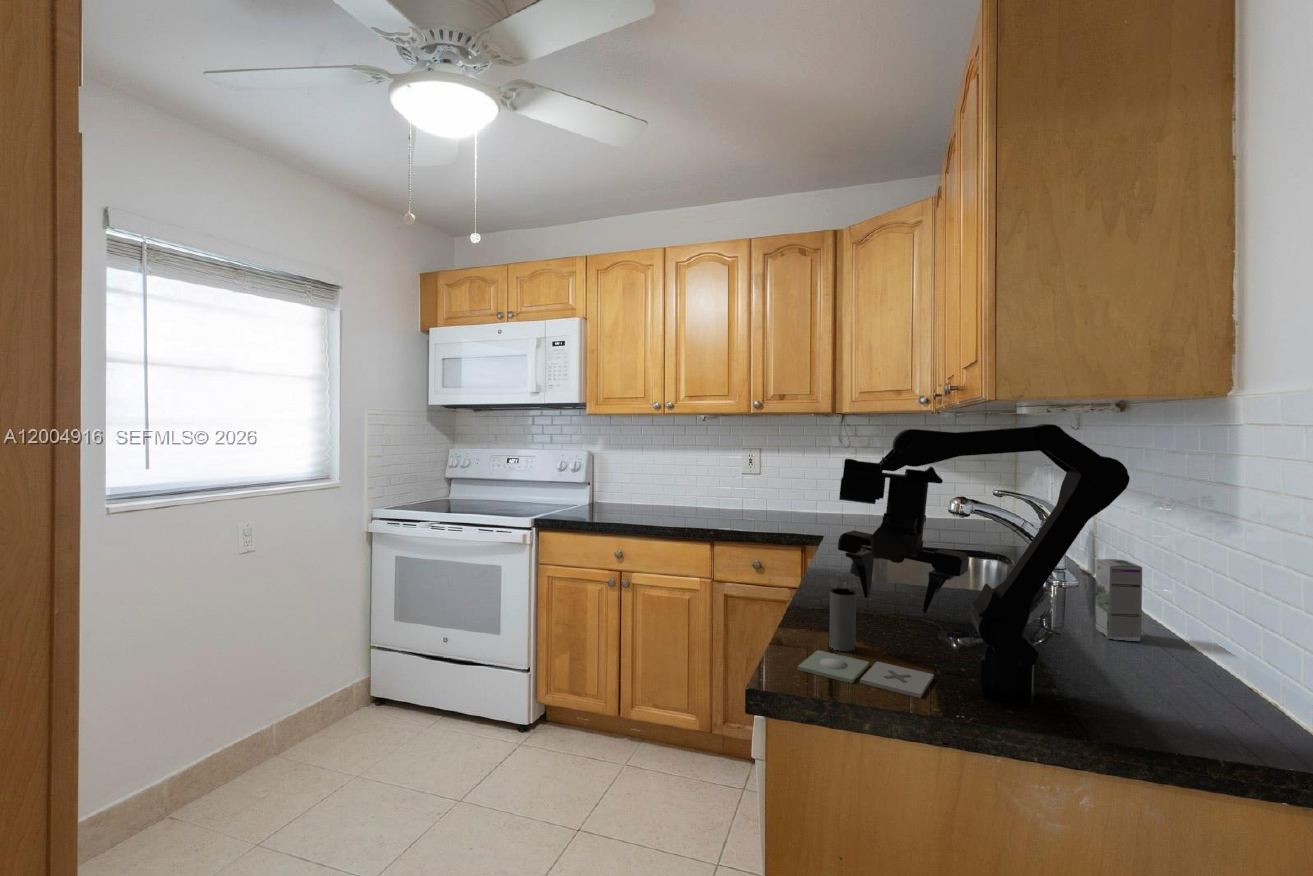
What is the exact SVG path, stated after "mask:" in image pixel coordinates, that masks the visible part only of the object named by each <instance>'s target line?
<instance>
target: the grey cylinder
mask: <svg viewBox="0 0 1313 876" xmlns="http://www.w3.org/2000/svg"><path fill="white" fill-rule="evenodd" d="M829 591H830V593H829V628H828V629H829V631H828V632H829V633H828V637H829V639H828V644H829V645H828V646H829V648H830V647H831V648H830V649H832V648H833V649H832V650H834V651H836V650H839V651H838V652H841V651H844V652H845V651H846V652H847V653H850V652H852V650H853V651H854V650H856V627H857V625H856V624H857V623H856V622H857V619H856V618H857V617H856V615H857V592H856V590H853V589H848V588H843V587H837V588H832V589H830V590H829ZM849 651H850V652H849ZM844 652H843V653H844ZM846 652H845V653H846Z"/></svg>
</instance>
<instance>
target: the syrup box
mask: <svg viewBox="0 0 1313 876" xmlns="http://www.w3.org/2000/svg"><path fill="white" fill-rule="evenodd" d="M1095 565H1096V566H1095V607H1094V608H1095V612H1094V613H1095V615H1094V622H1095V623H1094V629H1095V628H1096V629H1097V630H1099V631H1100V632H1103V633H1104V634H1105V635H1106V636H1108V637H1109V636H1110V637H1131V638H1132V637H1141V638H1142V613H1143V612H1142V609H1143V608H1142V605H1143V602H1142V601H1143V567H1142V566H1140V565H1138V564H1135V563H1133V562H1131V561H1128V560H1124V559H1115V558H1113V559H1112V558H1110V559H1109V558H1105V559H1104V558H1102V559H1097V558H1096V561H1095Z"/></svg>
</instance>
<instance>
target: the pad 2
mask: <svg viewBox="0 0 1313 876" xmlns="http://www.w3.org/2000/svg"><path fill="white" fill-rule="evenodd" d="M934 678H935V674H933V673H928V672H925V671H921V670H917V669H911V668H907V667H903V666H899V665H894V664H889V663H885V662H881V661H876V662H875V663H873V665H872V666H871V667H870V668H869V669H868V670H867V671H866V673H865V674H863V676H861V678H860V679H859V683H860V684H862V683H863V685H867V686H872V687H874V688H879V689H883V690H887V691H890V692H894V693H898V694H903V695H905V696H906V695H908V696H911V697H915V698H918V699H922V696H923V695H924V694H925V692H926V691H927V689H928V688H929V686H930V684H931V683H932V681H933V680H934Z"/></svg>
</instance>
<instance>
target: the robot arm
mask: <svg viewBox="0 0 1313 876" xmlns="http://www.w3.org/2000/svg"><path fill="white" fill-rule="evenodd" d="M1025 452H1041V453H1042V454H1043V455H1044V456H1046V457H1047V458H1048V459H1049V460H1050V461H1051V462H1053V464H1055V465H1056V466H1057V467H1058V468H1059V469H1061V470H1062V471H1064V472H1065V476H1064V477H1063V480H1062V482H1061V485H1060V490H1059V494H1058V499H1057V502H1056V505H1055V506H1054V508H1053V510H1051V513H1050V514H1049V515H1048V516H1047V518H1046V520H1045V521H1044V523H1043V524H1042V526H1041V527H1040V529H1039V530H1038V532H1036V535H1035V536H1034V537H1033V539H1032V540H1031V542H1030V543H1029V545H1027V548H1026V549H1025V551H1024V552H1023V553H1022V555H1021V556H1020V558H1019V560H1017V562H1016V564H1015V566H1014V567H1013V568H1012V569H1011V572H1010V573H1009V574H1008V576H1006V579H1005V580H1003V582H1002V583H1000V584H998V585H997V586H995V587H994V588H993V587H991V586H990V585H989V584H988V583H985V584H984V585H983V587H982V589H981V592H980V594H979V595H978V597H976V599H975V600H974V601H972V602H971V606H972V607H973V608H972V610H971V621H972V625H973V626H974V628H975V629H976V632H977V633H978V635H979V636H980V638H981V639H982V641H983V642H984V643H985V644H986V645H987V648H986V650H985V652H984V655H983V656H982V657H981V659H980V672H979V673H980V675H979V686H980V687H981V688H982V690H981V695H983V696H985V697H989V698H992V699H993V698H995V699H997V700H1003V701H1006V702H1007V701H1008V702H1009V703H1010V702H1011V703H1015V704H1020V705H1023V706H1027V707H1031V706H1032V705H1033V701H1034V697H1035V693H1036V688H1034V679H1035V678H1034V676H1035V675H1034V674H1035V673H1034V672H1035V665H1036V661H1037V660H1038V657H1039V655H1040V653H1039V652H1040V651H1038V650H1037V648H1036V646H1035V645H1034V644H1033V643H1032V641H1030V639H1029V638H1028V636H1027V635H1026V634H1025V633H1024V632H1025V630H1026V627H1027V626H1028V623H1029V620H1030V615H1031V611H1032V607H1033V602H1034V599H1035V598H1036V597H1037V595H1038V594H1039V592H1040V591H1041V589H1042V588H1043V586H1044V585H1045V584H1046V582H1047V581H1048V579H1049V578H1050V576H1051V575H1052V574H1053V572H1054V571H1055V569H1056V567H1057V566H1058V565H1059V563H1060V562H1061V561H1062V559H1063V558H1064V557H1065V554H1067V552H1068V550H1069V549H1070V547H1071V546H1072V544H1073V543H1074V542H1075V540H1076V539H1077V537H1078V536H1079V535H1080V533H1081V531H1083V529H1084V527H1085V526H1086V524H1087V523H1088V522H1089V520H1091V519H1092V518H1094V516H1096V515H1098V514H1099V513H1100V512H1102V511H1103V510H1104V509H1106V508H1108V507H1110V505H1111V504H1112V503H1113V502H1114V501H1115V500H1116V499H1118V497H1119V496H1120V495H1121V494H1122V493H1123V492H1125V490H1126V489H1127V488H1128V485H1129V484H1130V478H1131V477H1130V475H1129V472H1128V468H1126V466H1125V465H1124V464H1123V463H1122V462H1121V461H1120V460H1118V459H1116V458H1112V457H1109V456H1103V455H1100V454H1099V453H1097V452H1096V451H1095V450H1093V449H1092V448H1090V447H1089V446H1087V445H1086V444H1084V443H1082V441H1081V442H1080V441H1079V440H1077V439H1075V438H1074V437H1072V435H1069V434H1068V433H1067V432H1065V430H1064V429H1063V428H1061V427H1060V426H1059V425H1056V424H1047V423H1040V424H1037V425H1034V426H1025V427H1024V426H1023V427H1009V428H997V429H984V430H972V431H959V432H953V431H939V430H930V429H929V430H927V429H920V428H919V429H915V428H909V429H904V430H901V431H900V432H899V433H898V434H897V435H896V436H895V437H894V440H893V441H892V448H891V450H890V451H888V453H887V454H886V455H885V456H884V457H882V456H881V460H880V461H879V462H871V461H862V460H857V459H853V458H845V459H844V465H843V472H842V473H843V474H842V476H841V478H840V486H839V488H840V489H839V497H838V498H839V499H838V500H839V501H844V502H845V501H847V502H854V503H863V504H870V505H876V501H877V500H878V501H879V500H880V499H882V500H883V499H884V496H885V488H886V487H885V486H886V478H887V479H889V483H888V492H887V494H888V495H887V500H886V510H885V512H883V516H882V521H881V523H880V526H879V527H877V529H876V530H875V531H874V532H873V534H872V533H869V532H864V531H863V532H862V531H859V530H851V531H846V532H843V533H842V534H840V536H839V538H838V541H837V542H838V543H837V550H838V551H840V552H841V551H842V552H845V553H844V554H845V557H847V558H849V559H850V560H851V561H852V562H853V563H854V565H855V568H856V570H857V573H858V576H859V580H860V585H861V589H862V592H863V597H864V598H865V599H868V598H870V595H871V590H872V582H873V569H874V562H875V561H874V560H875V559H876V560H879V559H882V560H886V561H890V562H891V563H894V564H900V563H902V562H903V563H904V561H905V559H907V560H911V561H915V562H920V563H925V564H929V565H931V567H932V570H931V571H929V572H928V583H927V588H926V592H925V597H924V602H923V611H922V613H923V614H928V613H929V611H930V609H931V606H932V605H933V603H934V601H935V599H936V598H937V597H938V594H939V592H940V590H941V589H942V587H943V585H944V584H945V583H946V582H947V581H950V580H952V579H953V578H955V577H961V576H962V575H964V574H965V573H967V572H968V571H969V564H970V558H969V556H968V555H967V553H966V552H963V551H960V550H959V551H958V550H953V549H948V548H939V549H938V550H936V551H930V550H925V549H923V546H924V540H923V538H924V526H925V523H926V521H927V515H926V508H927V499H928V491H929V490H928V489H929V484H931V483H932V484H942V483H943V482H944V480H943V479H942V478H941V477H940V476H939V475H938V473H937V472H936V469H935V468H934V467H932V466H929V467H928V468H927V469H925V470H922V469H921V470H920V469H910V468H906V469H905V471H904V474H903V473H902V474H899V473H890V472H896V471H898V470H900V469H903V468H904V467H906V466H908V467H913V468H915V467H917V468H918V467H923V466H926V465H929V464H930V465H931V464H935V463H940V462H942V461H946V460H950V459H953V458H954V459H955V458H957V457H966V456H967V457H969V456H980V455H981V456H983V455H995V454H996V455H997V454H1010V453H1011V454H1012V453H1013V454H1014V453H1025ZM883 471H888V472H883Z"/></svg>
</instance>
